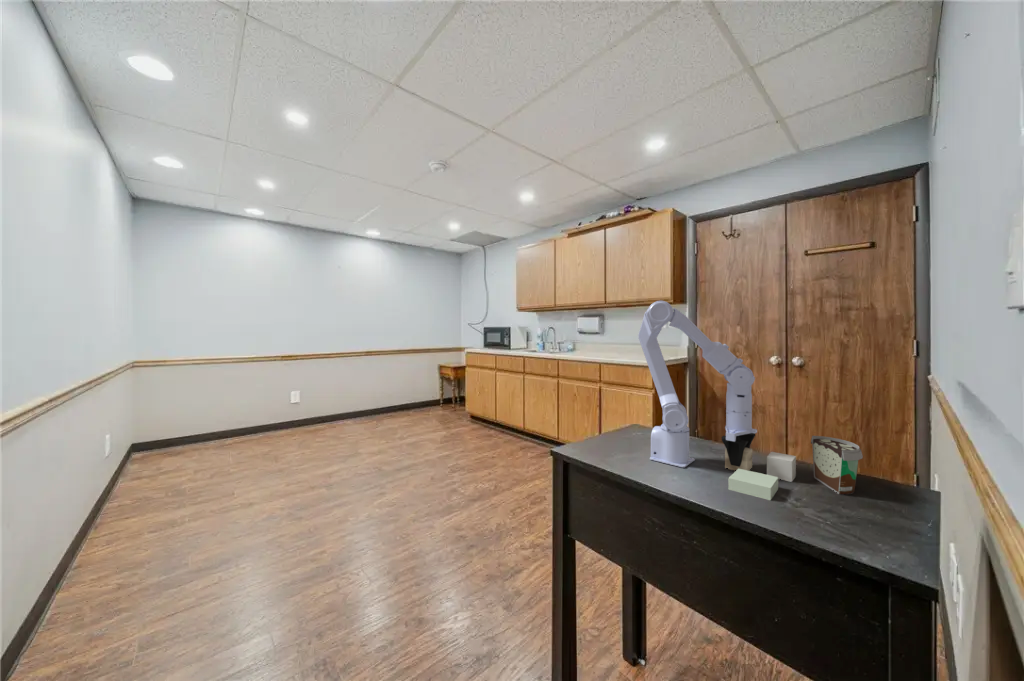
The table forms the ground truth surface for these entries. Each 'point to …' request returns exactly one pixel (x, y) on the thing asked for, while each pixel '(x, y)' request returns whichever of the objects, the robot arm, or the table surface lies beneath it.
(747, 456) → the birch cube
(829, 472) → the food container
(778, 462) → the grey block
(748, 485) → the sage block
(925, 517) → the table surface
